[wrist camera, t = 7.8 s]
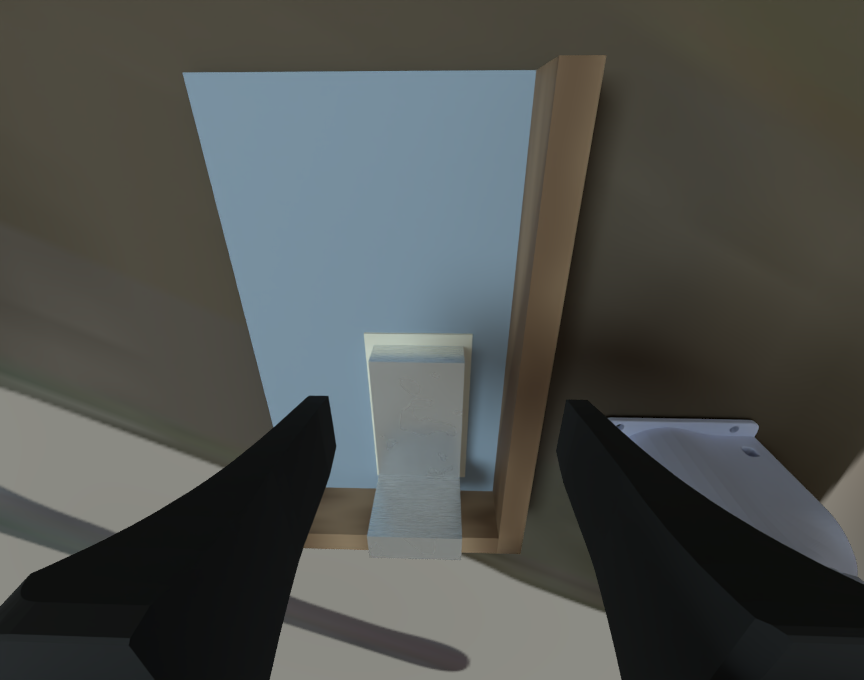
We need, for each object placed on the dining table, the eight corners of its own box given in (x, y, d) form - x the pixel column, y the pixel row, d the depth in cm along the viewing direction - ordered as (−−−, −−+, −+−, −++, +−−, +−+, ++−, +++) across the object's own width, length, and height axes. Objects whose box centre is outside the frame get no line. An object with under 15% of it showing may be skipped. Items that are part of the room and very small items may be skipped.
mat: (571, 71, 16) (575, 69, 15) (511, 501, 28) (512, 507, 28) (188, 73, 16) (180, 72, 16) (294, 496, 29) (291, 502, 28)
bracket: (457, 473, 26) (460, 559, 21) (384, 472, 27) (369, 557, 21) (463, 346, 22) (469, 415, 16) (373, 344, 22) (351, 413, 17)
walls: (571, 71, 16) (606, 55, 12) (511, 501, 28) (520, 553, 25) (188, 73, 16) (118, 59, 13) (294, 496, 29) (273, 547, 25)
